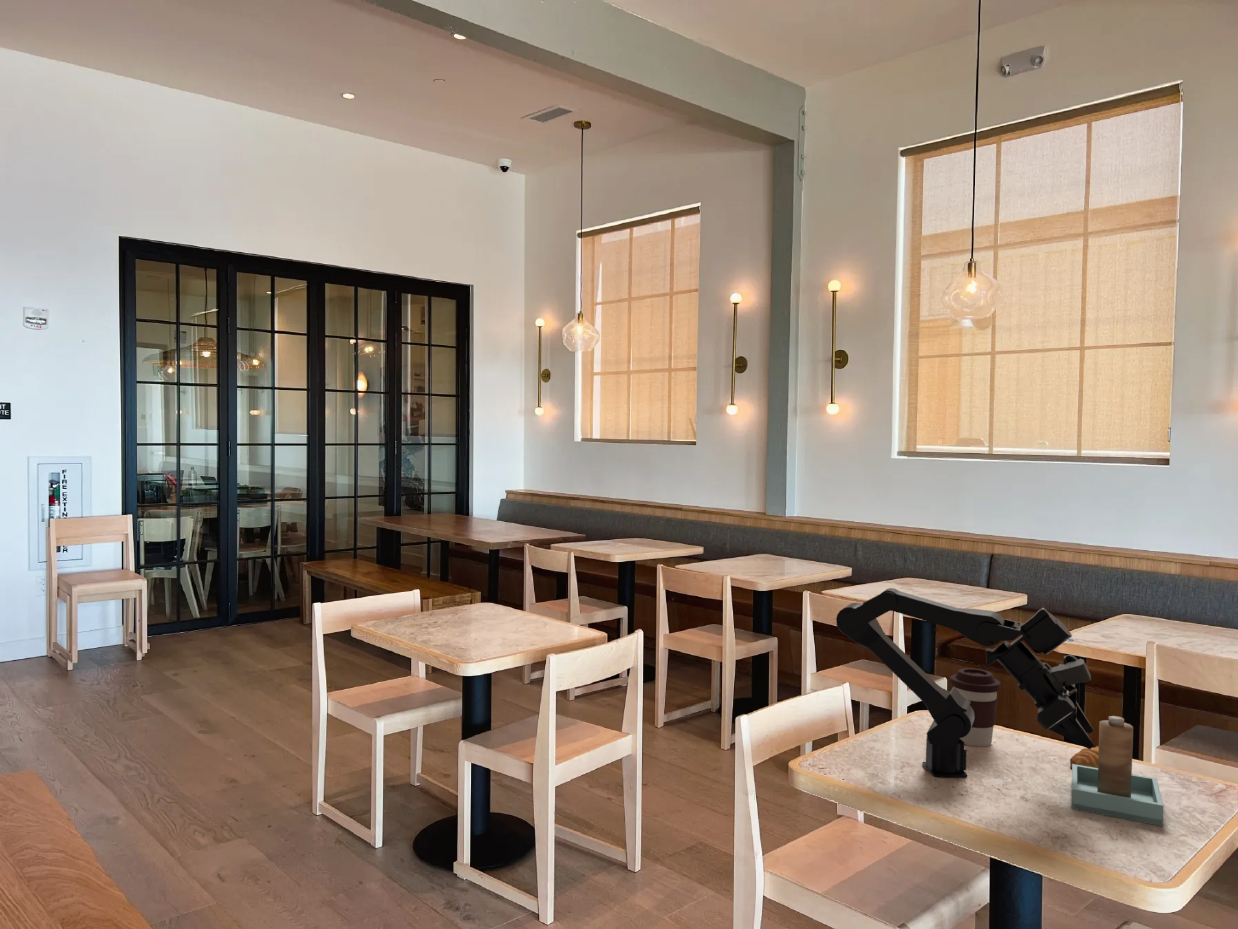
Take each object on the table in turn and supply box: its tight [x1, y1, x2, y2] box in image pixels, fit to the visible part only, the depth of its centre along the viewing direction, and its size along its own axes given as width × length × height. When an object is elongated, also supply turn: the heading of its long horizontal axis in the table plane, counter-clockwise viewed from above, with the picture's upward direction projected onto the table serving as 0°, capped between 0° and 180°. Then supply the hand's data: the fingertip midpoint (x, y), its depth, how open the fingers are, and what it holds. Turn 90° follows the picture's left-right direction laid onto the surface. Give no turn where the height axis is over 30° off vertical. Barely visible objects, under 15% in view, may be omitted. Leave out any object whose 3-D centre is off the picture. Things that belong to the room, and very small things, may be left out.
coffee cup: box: [949, 667, 1001, 748], centre depth 185 cm, size 10×10×15 cm
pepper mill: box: [1097, 715, 1134, 798], centre depth 154 cm, size 5×5×14 cm
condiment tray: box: [1070, 764, 1164, 827], centre depth 154 cm, size 14×14×4 cm
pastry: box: [1069, 745, 1099, 768], centre depth 172 cm, size 9×7×4 cm
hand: (1091, 739), depth 156 cm, fingers open, 9 cm apart
